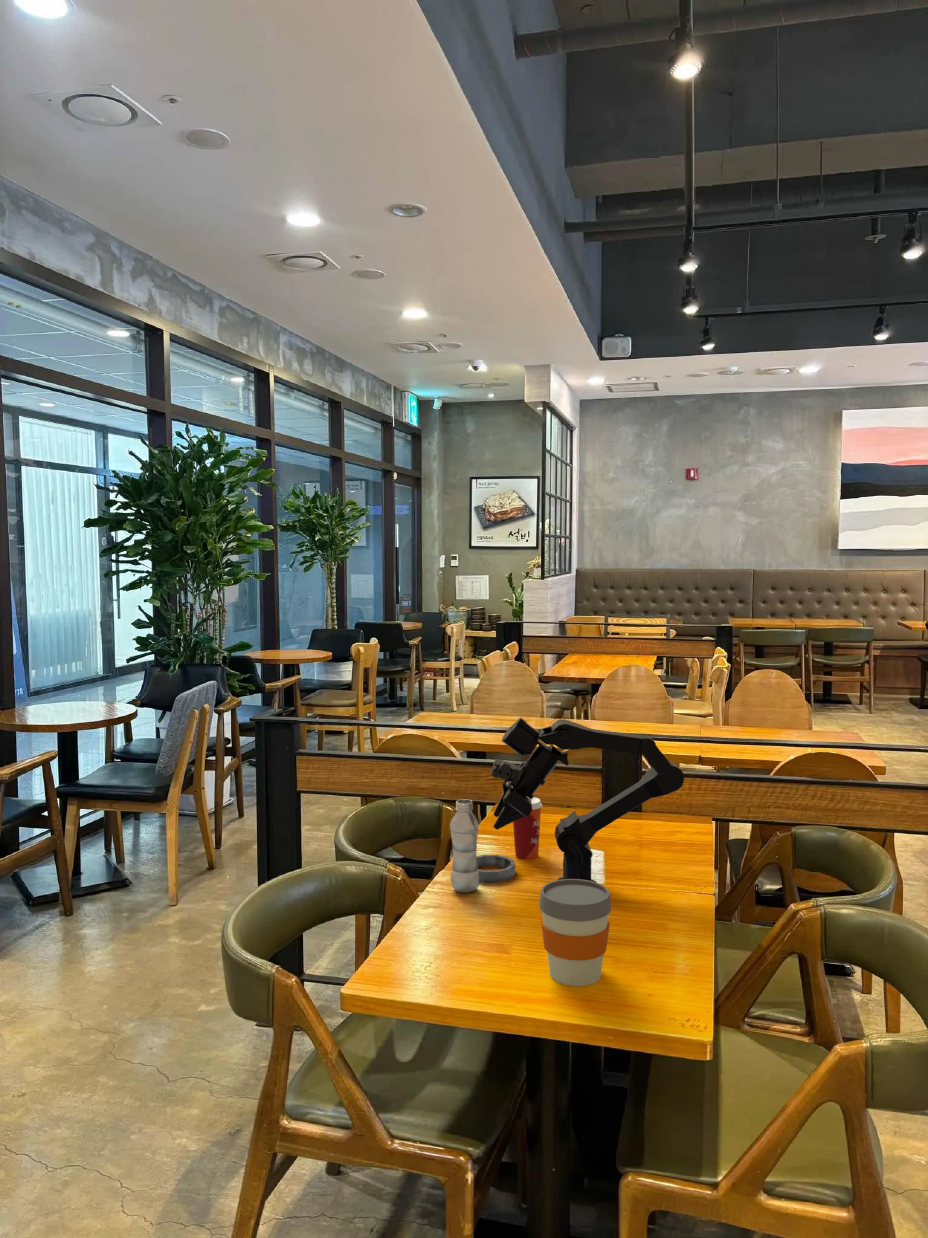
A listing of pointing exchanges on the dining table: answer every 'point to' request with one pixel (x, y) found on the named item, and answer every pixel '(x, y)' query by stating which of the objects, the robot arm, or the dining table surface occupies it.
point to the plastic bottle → (464, 848)
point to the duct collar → (495, 875)
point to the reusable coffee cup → (575, 929)
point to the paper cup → (528, 832)
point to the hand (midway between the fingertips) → (495, 822)
